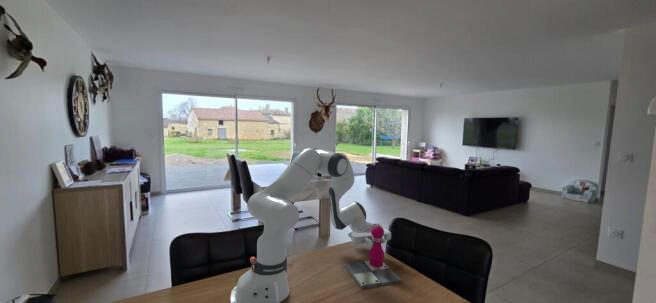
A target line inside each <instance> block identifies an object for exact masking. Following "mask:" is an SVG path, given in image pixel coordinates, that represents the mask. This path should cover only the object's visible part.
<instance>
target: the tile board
mask: <svg viewBox="0 0 656 303" xmlns="http://www.w3.org/2000/svg"><path fill="white" fill-rule="evenodd" d="M344 268H345V269H346V270H347V272H348V273H349V275H350V276H351V277H352V278H353V280H354V282H356V284H357V285H358V287H359V288H360V289H361V290H362V289H369V288H373V287H381V286H385V285H391V284H398V283H402V278H400V276H398V274H396V272H395V271H394V270H392V269H391V267H389V266H388V265H387V264H386V263H385V262H384V261H383V266H382V267H373V266H371V265H370V259H369V260H363V261H354V262H347V263H344Z"/></svg>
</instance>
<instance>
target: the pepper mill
mask: <svg viewBox="0 0 656 303" xmlns="http://www.w3.org/2000/svg"><path fill="white" fill-rule="evenodd" d="M375 224H376V226H375V227H373V228H372V230H371V234H372V235H373V236H372V240H373V241H374V245H371V248H370V250H369V252H368V258H369V260H370V265H371V266H373V267H382V266H383V262H384V261H383V260H384V259H385V252H384V249H383V246H382V243H381V242H382V240H383V237H382V236H383V235H384V230H383V228H382V227H383V226H382V227H380V225H381V223H375Z"/></svg>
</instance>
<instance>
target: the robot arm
mask: <svg viewBox="0 0 656 303" xmlns="http://www.w3.org/2000/svg"><path fill="white" fill-rule="evenodd" d="M317 173H319V174H320V175H324V176H328V177H329V176H330V177H331V184H330V187H329V189H328V201H329V209H330V210H329V211H330V223H331V225H332V226H333V228H334V229H336V230H340V231H342V230H344V229H346V228H347V227H349V228H350V229H351V232H349V233H348V234H347V236H348V237H349V238H350V240H351V242H352V244H355V245H357V244H358V245H359V244H369V245H370V246H372V245H374V241H373V240H372V236H373V235H372V234H371V230H372V228H373V227H375V226H376V224H377V223H371V222H368V221H367V211H366V210H365V207H364V206H363V205H362V204H361V203H359V202H358V201H353V202H351V203H348V204H347V205H345V206H343V207H341V208H340V200H341V199H342V197H343V196H344V195H345V194H346V193H347V192H348V191H350V190H351V189H352V188H353V186H354V184H355V178H356V177H355V174H354V173H355V172H354V170H353V167H352V164H351V161H350V160H349V157H348V156H347V154H345V153H343V152H334V151H331V150H328V149H323V148H317V147H315V148H314V147H313V148H312V147H311V148H309V147H308V148H305V149H302V151H301V152H299V154H297V155H296V157H294V159H292V161H291V162H290V163H289V165H288V166H287V167H286V168H285V169H284V171H283V172H282V173H281V174H280V176H279V177H278V178H277V179H276V180H275V181H273V182H272V183H271V184H270V185H268V186H267V187H265V188H264V189H262V190H261V191H258V192H256V193H253V194H252V195H251V196H249V199H247V200H248V201H247V203H246V206H247V207H246V209H247V211H248V213H249V214H250V215H251V216H252V217H253V218H254V219H255V220H258V221H260V222H261V223H262V224H263V226H264V227H263V231H262V234H261V235H260V236H259V237H258V239H257V240H256V241H257V242H256V257H255V256H251V257H250V258H249V261H250V263H251V268H249V270H247V271H246V272H245V273H243V274H242V275H240V277H239V279H238V281H237V284H236V286H234V287H233V289H231V292H230V297H229V301H230V302H229V303H281V302H283V301H284V300H285V299H287V298H288V296H289V295H290V293H291V290H290V289H291V288H290V287H289V283H288V275H287V271H288V258H287V239H288V235H289V232H290V231H291V230H292V229H293V228H294V227H295V226H296V225H297V223H298V221H299V217H300V216H299V215H300V212H299V210H298V207H297V206H296V205H295V204H293V203H292V202H291V201H290V200H292V199H293V198H295V197H296V198H297V197H298V196H301V194H302V193H303V192H304V191H305V190H306V188H307V186H309V184H310V182H311V181H312V179H313V178H314V177H315V175H316V174H317ZM380 227H382V228H383V230H384V235H383V236H382V237H383V240H382V242H381V245H382V244H386V241H391V239H392V232H391V231H390V230H389V229H387V227H384V226H382V224H380Z"/></svg>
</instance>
